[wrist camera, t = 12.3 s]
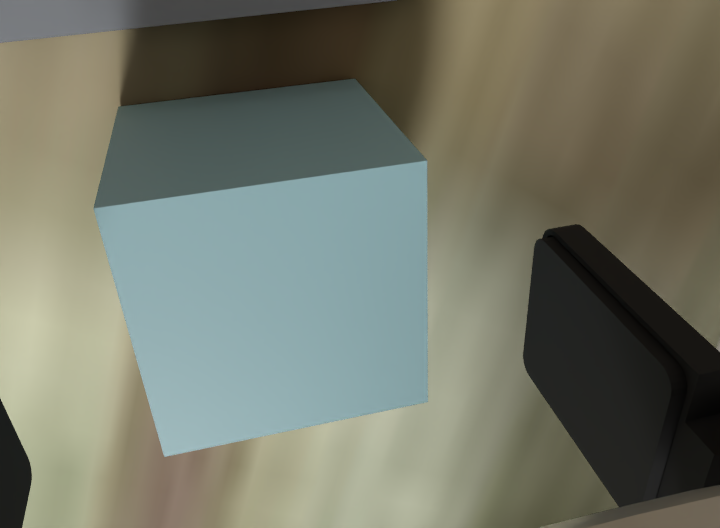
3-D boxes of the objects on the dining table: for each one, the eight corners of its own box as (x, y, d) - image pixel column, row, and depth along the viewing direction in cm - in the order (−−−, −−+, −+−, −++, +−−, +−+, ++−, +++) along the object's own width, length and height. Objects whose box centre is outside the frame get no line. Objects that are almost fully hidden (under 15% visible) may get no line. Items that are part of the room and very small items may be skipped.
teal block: (366, 273, 21) (427, 401, 16) (167, 307, 20) (164, 457, 15) (355, 78, 18) (427, 160, 13) (118, 106, 17) (93, 208, 12)
